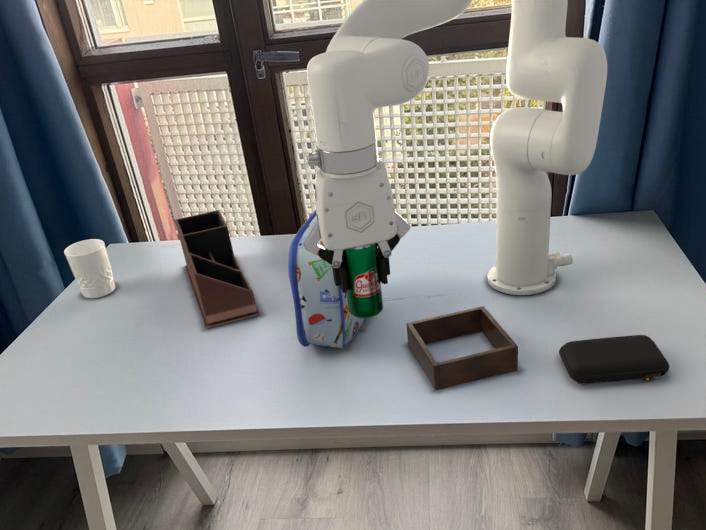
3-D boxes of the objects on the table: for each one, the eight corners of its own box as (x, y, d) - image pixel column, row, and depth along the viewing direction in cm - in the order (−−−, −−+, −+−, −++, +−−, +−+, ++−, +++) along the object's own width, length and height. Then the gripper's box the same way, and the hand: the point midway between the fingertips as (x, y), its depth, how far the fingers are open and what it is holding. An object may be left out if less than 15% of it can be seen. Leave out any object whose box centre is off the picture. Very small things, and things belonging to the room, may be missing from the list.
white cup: (72, 298, 145) (55, 254, 140) (97, 280, 151) (82, 237, 146) (101, 301, 143) (86, 257, 137) (126, 283, 149) (112, 240, 143)
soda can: (358, 324, 99) (349, 246, 92) (342, 309, 103) (332, 233, 96) (389, 313, 100) (382, 235, 94) (373, 299, 104) (365, 224, 98)
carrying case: (573, 394, 103) (675, 385, 102) (574, 377, 101) (678, 368, 100) (555, 354, 112) (649, 345, 111) (556, 338, 110) (651, 329, 109)
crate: (483, 328, 120) (483, 305, 118) (517, 370, 109) (518, 346, 106) (408, 345, 118) (406, 323, 115) (435, 390, 107) (433, 366, 104)
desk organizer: (232, 256, 155) (221, 208, 149) (261, 315, 131) (249, 261, 125) (184, 267, 152) (171, 219, 146) (205, 330, 129) (191, 275, 123)
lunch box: (333, 283, 139) (318, 175, 127) (384, 283, 137) (374, 174, 125) (294, 361, 117) (271, 239, 105) (354, 363, 115) (338, 239, 103)
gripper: (287, 178, 84) (309, 309, 95) (421, 153, 87) (428, 283, 97) (277, 160, 91) (299, 285, 101) (403, 138, 93) (412, 261, 103)
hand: (362, 283), depth 99 cm, fingers closed on soda can, 5 cm apart
